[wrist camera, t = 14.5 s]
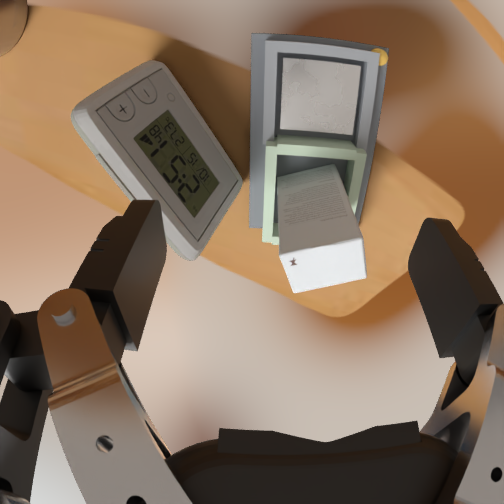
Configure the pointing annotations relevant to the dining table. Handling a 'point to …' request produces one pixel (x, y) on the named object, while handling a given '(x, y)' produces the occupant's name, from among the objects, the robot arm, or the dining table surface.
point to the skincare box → (318, 230)
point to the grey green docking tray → (308, 142)
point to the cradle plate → (319, 95)
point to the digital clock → (160, 152)
